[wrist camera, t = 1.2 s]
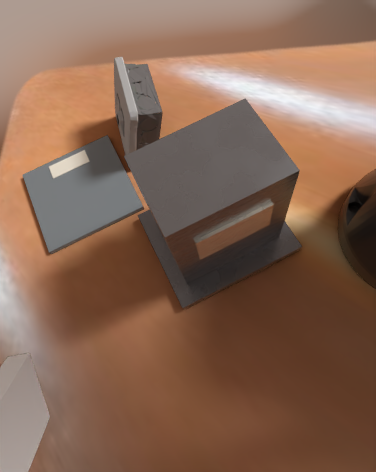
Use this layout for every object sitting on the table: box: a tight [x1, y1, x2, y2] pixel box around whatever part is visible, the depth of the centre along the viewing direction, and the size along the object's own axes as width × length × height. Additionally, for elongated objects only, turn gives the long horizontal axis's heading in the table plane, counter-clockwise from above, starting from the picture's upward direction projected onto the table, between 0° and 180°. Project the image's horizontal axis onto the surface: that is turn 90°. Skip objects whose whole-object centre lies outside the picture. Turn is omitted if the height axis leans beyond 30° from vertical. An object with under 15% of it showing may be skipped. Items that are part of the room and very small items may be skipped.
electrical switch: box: [114, 57, 162, 167], centre depth 43 cm, size 9×5×9 cm, turn 15°
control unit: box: [124, 99, 302, 310], centre depth 34 cm, size 14×12×14 cm
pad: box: [23, 135, 144, 254], centre depth 44 cm, size 12×12×1 cm
